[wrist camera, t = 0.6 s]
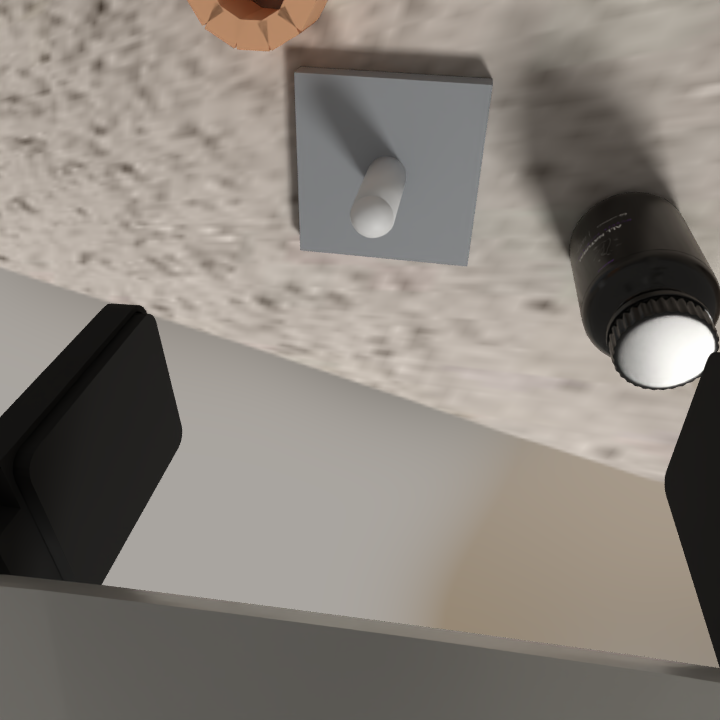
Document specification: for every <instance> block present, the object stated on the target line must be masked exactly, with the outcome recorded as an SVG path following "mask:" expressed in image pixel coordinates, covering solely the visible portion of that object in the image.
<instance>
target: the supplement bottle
mask: <svg viewBox="0 0 720 720" xmlns="http://www.w3.org/2000/svg"><path fill="white" fill-rule="evenodd" d="M570 259H571V266H572V271H573V276H574V281H575V287H576V292H577V297H578V302H579V307H580V313H581V318H582V322H583V326H584V329H585V331H586V334H587V336H588V337H589V339H590V340H591V342H592V343H593V344H594V345H595V346H596V347H597V348H598V349H599V350H600V351H601V352H603V353H604V354H606V355H608V356H609V357H611V359H612V362H613V364H614V366H615V369H616V371H617V372H619V374H620V376H621V377H622V378H625V379H626V381H627V382H629V383H632V384H633V385H634V386H640V387H642V388H643V389H651V390H657V389H660V390H665V389H673V388H676V387H678V386H684V385H685V384H686V383H690V382H693V381H694V380H695V379H696V378H699V377H701V375H702V372H703V370H704V367H705V364H706V361H707V359H708V357H709V355H710V354H711V353H713V352H717V351H718V349H719V344H718V341H719V337H718V334H717V330H716V328H715V325H716V323H717V321H718V319H719V316H720V286H719V283H718V281H717V278H716V277H715V275H714V273H713V271H712V269H711V267H710V266H709V264H708V262H707V260H706V258H705V256H704V255H703V253H702V251H701V249H700V247H699V245H698V244H697V242H696V240H695V238H694V236H693V235H692V233H691V231H690V229H689V227H688V225H687V224H686V222H685V220H684V218H683V217H682V215H681V214H680V212H679V211H678V210H677V209H676V208H675V207H674V206H673V205H672V204H671V203H670V202H668V201H667V200H665V199H663V198H661V197H659V196H656V195H653V194H650V193H644V192H629V193H623V194H618V195H615V196H612V197H609V198H607V199H605V200H603V201H601V202H599V203H598V204H596V205H595V206H593V207H592V208H591V209H590V210H589V211H588V212H587V213H586V214H585V215H584V216H583V217H582V218H581V219H580V221H579V222H578V224H577V226H576V227H575V229H574V232H573V234H572V237H571V241H570Z"/></svg>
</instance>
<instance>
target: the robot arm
mask: <svg viewBox="0 0 720 720" xmlns="http://www.w3.org/2000/svg"><path fill="white" fill-rule="evenodd" d="M181 438H182V426H181V422H180V418H179V413H178V409H177V405H176V401H175V397H174V393H173V389H172V385H171V381H170V376H169V372H168V368H167V364H166V360H165V356H164V352H163V348H162V344H161V340H160V336H159V332H158V328H157V323H156V320H155V318H154V317H153V315H151V314H147V312H146V310H145V309H144V308H143V307H142V306H140V305H126V304H107V305H106V306H105V307H104V308H103V309H102V310H101V311H100V312H99V313H98V314H97V315H96V316H95V317H94V318H93V319H92V320H91V321H90V323H89V324H88V325H87V326H86V327H85V328H84V329H83V330H82V331H81V332H80V333H79V334H78V335H77V336H76V337H75V338H74V340H72V342H71V343H70V344H69V345H68V346H67V347H66V348H65V349H64V350H63V351H62V352H61V353H60V354H59V355H58V356H57V357H56V359H55V360H54V361H53V362H52V363H51V364H50V365H49V366H48V367H47V368H46V369H45V370H44V371H43V372H42V373H41V374H40V375H39V377H38V378H37V379H36V380H35V381H34V382H33V383H32V384H31V385H30V386H29V387H28V388H27V389H26V390H25V391H24V393H22V395H21V396H20V397H19V398H18V399H17V400H16V401H15V402H14V403H13V404H12V405H11V406H10V407H9V409H7V411H6V412H5V413H4V414H3V415H2V416H1V417H0V720H720V668H714V667H708V666H701V665H695V664H688V663H682V662H675V661H668V660H662V659H656V658H649V657H642V656H635V655H628V654H620V653H613V652H606V651H599V650H592V649H584V648H577V647H570V646H562V645H555V644H548V643H540V642H533V641H526V640H519V639H511V638H504V637H497V636H489V635H482V634H475V633H468V632H460V631H453V630H445V629H438V628H430V627H423V626H415V625H408V624H400V623H391V622H385V621H377V620H370V619H362V618H355V617H347V616H339V615H332V614H323V613H316V612H309V611H301V610H293V609H286V608H278V607H271V606H263V605H255V604H247V603H240V602H232V601H224V600H216V599H207V598H200V597H192V596H184V595H176V594H168V593H160V592H152V591H145V590H136V589H129V588H121V587H113V586H105V585H102V583H103V581H104V579H105V578H106V576H107V574H108V572H109V570H110V568H111V567H112V565H113V563H114V561H115V559H116V558H117V556H118V554H119V553H120V551H121V549H122V547H123V545H124V544H125V542H126V540H127V538H128V536H129V535H130V533H131V531H132V529H133V528H134V526H135V524H136V522H137V521H138V519H139V517H140V515H141V513H142V512H143V510H144V508H145V506H146V505H147V503H148V501H149V499H150V497H151V496H152V494H153V492H154V490H155V488H156V487H157V485H158V483H159V481H160V480H161V478H162V476H163V474H164V472H165V471H166V469H167V467H168V465H169V464H170V462H171V460H172V458H173V456H174V455H175V453H176V451H177V449H178V448H179V445H180V442H181ZM665 492H666V496H667V500H668V503H669V506H670V509H671V512H672V516H673V519H674V522H675V525H676V528H677V532H678V535H679V538H680V541H681V545H682V548H683V551H684V554H685V557H686V561H687V564H688V567H689V570H690V574H691V577H692V580H693V583H694V587H695V589H696V593H697V596H698V599H699V603H700V606H701V609H702V612H703V615H704V619H705V622H706V625H707V628H708V631H709V634H710V638H711V641H712V644H713V648H714V651H715V654H716V657H717V661H718V664H719V667H720V352H713V353H711V354H710V355H709V357H708V359H707V361H706V364H705V367H704V370H703V372H702V375H701V378H700V381H699V383H698V386H697V389H696V391H695V394H694V397H693V400H692V402H691V405H690V408H689V411H688V413H687V416H686V419H685V422H684V424H683V427H682V430H681V433H680V435H679V438H678V441H677V444H676V446H675V449H674V452H673V455H672V457H671V460H670V463H669V466H668V468H667V471H666V475H665Z"/></svg>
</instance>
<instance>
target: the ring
mask: <svg viewBox="0 0 720 720" xmlns="http://www.w3.org/2000/svg"><path fill="white" fill-rule="evenodd" d="M187 1H188V2H189V4H190V6H191V7H192V9H193V11H194V13H195V14H196V16H197V18H198V19H199V21H200V23H201V24H202V26H203V25H205V24H206V27H205V29H206V30H208V31H209V32H211V33H212V34H214V35H215V36H217V37H218V38H220V39H221V40H223V41H224V42H225V43H227V44H228V45H230V46H231V47H233V48H235V47H237V49H239V50H255V51H270V50H274V49H275V48H277V47H279V46H280V45H282V44H284V43H285V42H287V41H288V40H290V39H292V38H293V37H295V36H297V35H298V34H300V33H301V32H302V31H304V30H305V29H306V28H308V27H309V26H310V25H312V24H313V23H314V22H316V20H317V19H319V17H320V15H321V13H322V11H323V9H324V7H325V5H326V3H327V1H328V0H284V1H283V3H282V6H281V8H280V9H273V8H262V7H260V6H259V5H258V4H256V3H255V2H253V1H252V0H187Z"/></svg>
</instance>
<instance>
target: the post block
mask: <svg viewBox="0 0 720 720" xmlns="http://www.w3.org/2000/svg"><path fill="white" fill-rule="evenodd" d="M294 84H295V112H296V140H297V168H298V196H299V224H300V250H304V251H314V252H324V253H335V254H345V255H355V256H365V257H376V258H386V259H396V260H407V261H417V262H427V263H438V264H448V265H458V266H467V264H468V257H469V250H470V242H471V235H472V228H473V221H474V214H475V207H476V200H477V193H478V185H479V178H480V171H481V164H482V157H483V150H484V143H485V135H486V128H487V121H488V114H489V107H490V100H491V93H492V86H493V83H492V79H490V78H474V77H458V76H443V75H427V74H411V73H395V72H379V71H363V70H347V69H331V68H316V67H299V68H298V69H297V70H296V71H295V72H294Z"/></svg>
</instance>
